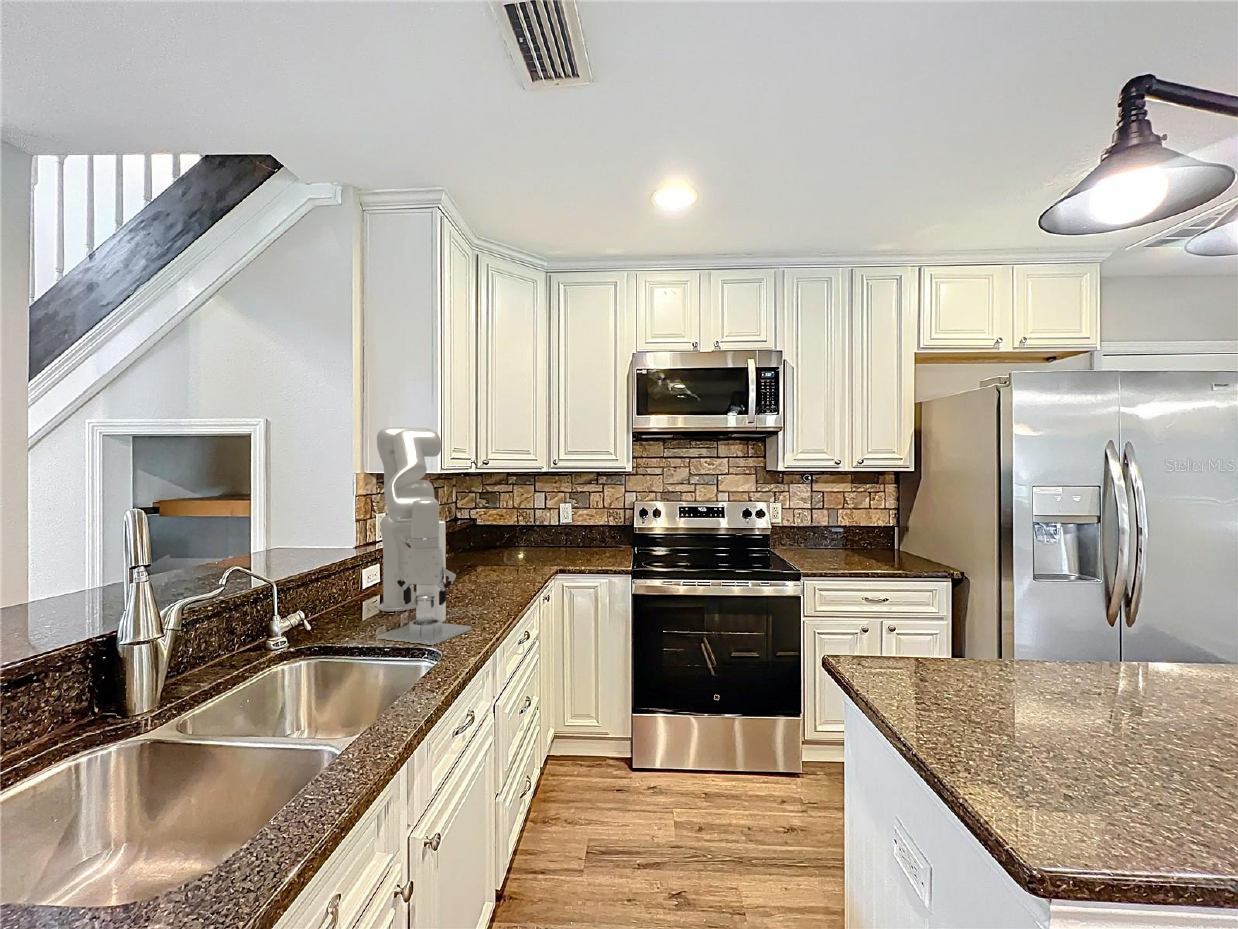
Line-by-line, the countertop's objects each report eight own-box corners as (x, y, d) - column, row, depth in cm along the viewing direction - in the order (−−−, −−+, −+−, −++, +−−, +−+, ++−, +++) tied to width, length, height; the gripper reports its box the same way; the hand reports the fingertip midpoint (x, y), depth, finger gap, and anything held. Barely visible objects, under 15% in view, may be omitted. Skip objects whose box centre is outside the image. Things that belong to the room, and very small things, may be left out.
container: (410, 622, 194) (410, 523, 194) (428, 616, 202) (428, 520, 202) (433, 624, 191) (433, 524, 191) (451, 618, 199) (451, 521, 199)
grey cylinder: (411, 632, 179) (411, 596, 179) (424, 627, 184) (423, 592, 184) (427, 633, 177) (427, 597, 177) (439, 629, 182) (438, 594, 182)
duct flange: (420, 624, 192) (420, 612, 192) (471, 629, 185) (471, 617, 185) (377, 639, 175) (377, 626, 175) (431, 646, 169) (431, 632, 169)
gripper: (389, 544, 177) (389, 606, 177) (451, 545, 176) (451, 607, 177) (399, 540, 184) (399, 599, 185) (459, 541, 184) (459, 601, 184)
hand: (424, 603), depth 181 cm, fingers open, 9 cm apart
